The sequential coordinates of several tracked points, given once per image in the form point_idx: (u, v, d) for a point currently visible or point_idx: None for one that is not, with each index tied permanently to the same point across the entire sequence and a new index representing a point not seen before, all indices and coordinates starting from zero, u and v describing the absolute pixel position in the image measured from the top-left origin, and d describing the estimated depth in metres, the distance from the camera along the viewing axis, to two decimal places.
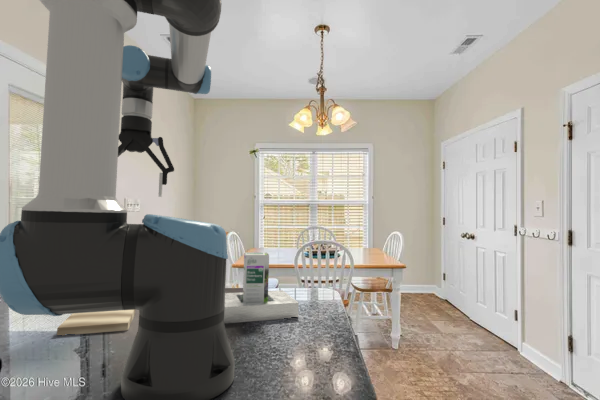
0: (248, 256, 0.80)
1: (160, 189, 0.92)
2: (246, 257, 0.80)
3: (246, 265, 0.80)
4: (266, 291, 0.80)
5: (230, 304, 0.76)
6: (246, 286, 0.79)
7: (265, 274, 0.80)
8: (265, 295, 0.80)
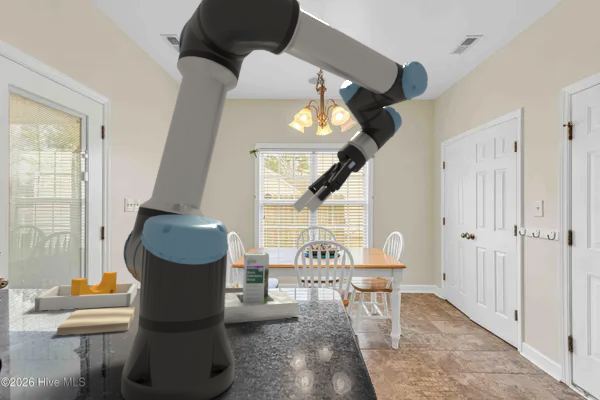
0: (248, 256, 0.80)
1: (310, 199, 0.80)
2: (246, 257, 0.80)
3: (246, 265, 0.80)
4: (266, 291, 0.80)
5: (230, 304, 0.76)
6: (246, 286, 0.79)
7: (265, 274, 0.80)
8: (265, 295, 0.80)
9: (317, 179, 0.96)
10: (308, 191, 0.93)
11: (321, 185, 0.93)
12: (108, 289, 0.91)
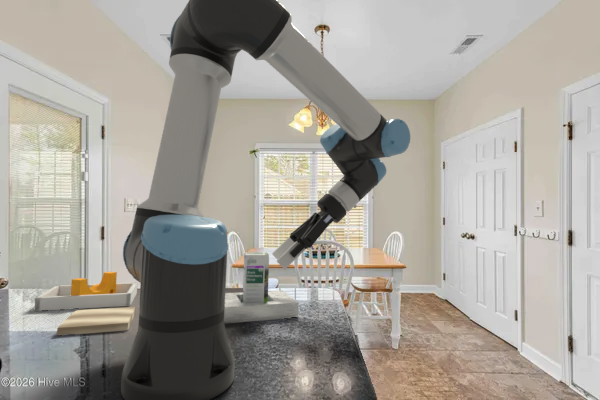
0: (248, 256, 0.80)
1: (282, 255, 0.77)
2: (246, 257, 0.80)
3: (246, 265, 0.80)
4: (266, 291, 0.80)
5: (230, 304, 0.76)
6: (246, 286, 0.79)
7: (265, 274, 0.80)
8: (265, 295, 0.80)
9: (299, 226, 0.94)
10: (288, 239, 0.91)
11: (302, 234, 0.90)
12: (108, 289, 0.91)
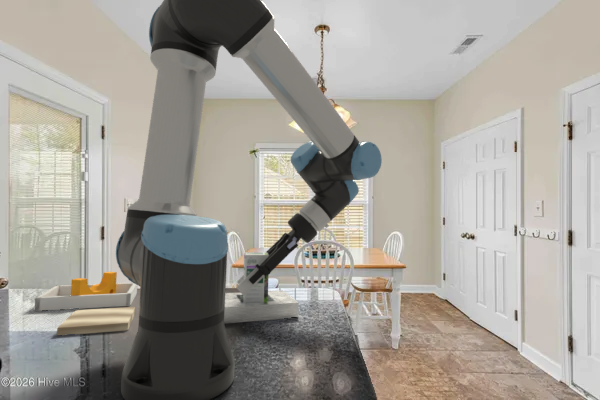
0: (248, 256, 0.80)
1: (241, 281, 0.79)
2: (246, 257, 0.80)
3: (246, 265, 0.80)
4: (266, 291, 0.80)
5: (230, 304, 0.76)
6: None
7: None
8: (265, 295, 0.80)
9: None
10: None
11: None
12: (108, 289, 0.91)
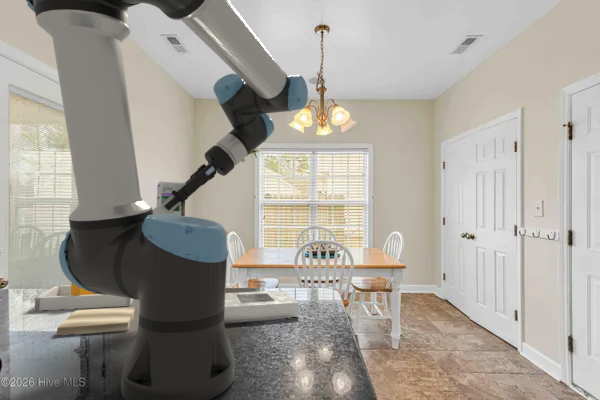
0: (163, 183, 0.77)
1: (156, 208, 0.76)
2: (161, 184, 0.77)
3: (161, 192, 0.77)
4: None
5: (230, 304, 0.76)
6: None
7: (182, 202, 0.79)
8: None
9: None
10: None
11: None
12: None
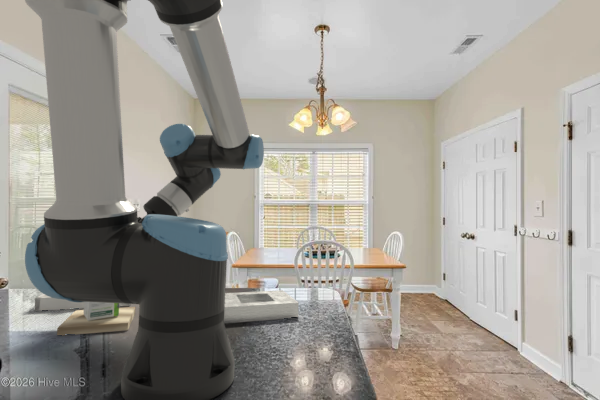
0: None
1: None
2: None
3: None
4: None
5: (230, 304, 0.76)
6: None
7: None
8: None
9: None
10: None
11: None
12: None
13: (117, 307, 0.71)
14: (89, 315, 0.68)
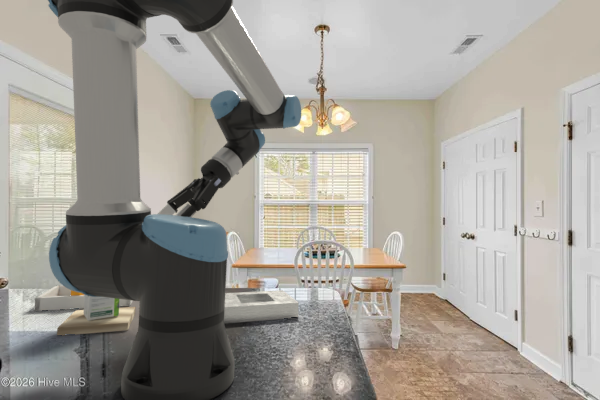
0: None
1: None
2: None
3: None
4: None
5: (230, 304, 0.76)
6: None
7: None
8: None
9: (178, 193, 0.90)
10: (167, 206, 0.86)
11: (182, 200, 0.88)
12: None
13: (117, 307, 0.71)
14: (89, 315, 0.68)
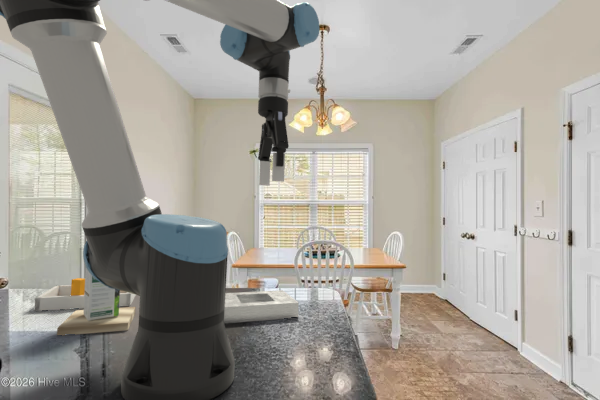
0: None
1: (272, 172, 0.78)
2: None
3: None
4: None
5: (230, 304, 0.76)
6: (92, 286, 0.68)
7: None
8: (116, 294, 0.71)
9: (260, 146, 0.92)
10: (262, 163, 0.90)
11: (268, 149, 0.90)
12: None
13: (117, 307, 0.71)
14: (89, 315, 0.68)
